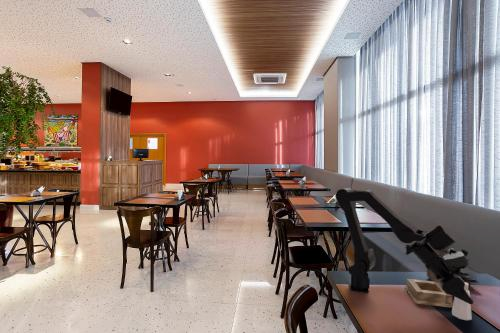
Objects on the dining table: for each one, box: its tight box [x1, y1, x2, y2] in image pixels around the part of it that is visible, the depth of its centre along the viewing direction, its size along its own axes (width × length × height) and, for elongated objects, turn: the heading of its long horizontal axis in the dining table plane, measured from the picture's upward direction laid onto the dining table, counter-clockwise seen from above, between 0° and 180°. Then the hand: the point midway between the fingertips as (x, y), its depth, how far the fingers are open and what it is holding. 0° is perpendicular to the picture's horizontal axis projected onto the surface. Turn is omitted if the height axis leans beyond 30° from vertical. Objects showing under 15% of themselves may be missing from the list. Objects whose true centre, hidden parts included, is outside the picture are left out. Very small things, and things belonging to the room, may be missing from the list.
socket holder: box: [404, 278, 453, 309], centre depth 105 cm, size 12×12×4 cm
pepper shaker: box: [451, 282, 473, 321], centre depth 93 cm, size 5×5×11 cm
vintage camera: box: [426, 244, 480, 287], centre depth 116 cm, size 10×15×20 cm, turn 79°
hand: (467, 296), depth 92 cm, fingers open, 9 cm apart
